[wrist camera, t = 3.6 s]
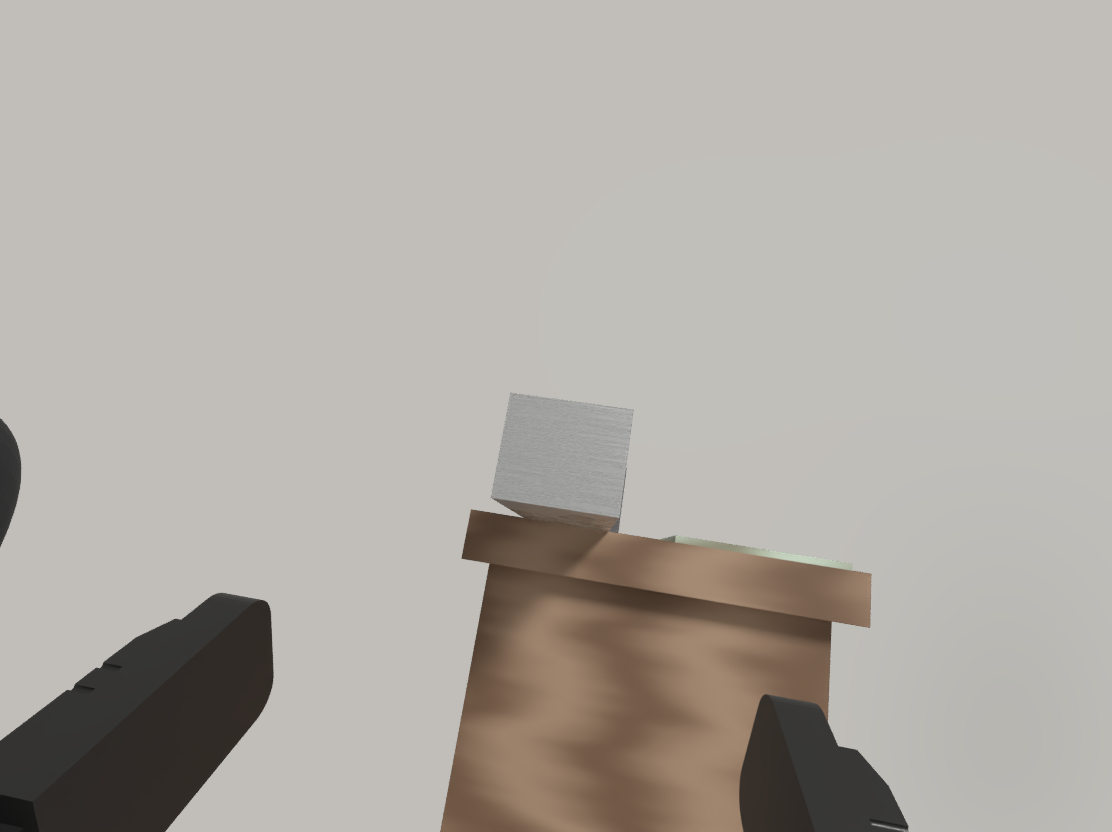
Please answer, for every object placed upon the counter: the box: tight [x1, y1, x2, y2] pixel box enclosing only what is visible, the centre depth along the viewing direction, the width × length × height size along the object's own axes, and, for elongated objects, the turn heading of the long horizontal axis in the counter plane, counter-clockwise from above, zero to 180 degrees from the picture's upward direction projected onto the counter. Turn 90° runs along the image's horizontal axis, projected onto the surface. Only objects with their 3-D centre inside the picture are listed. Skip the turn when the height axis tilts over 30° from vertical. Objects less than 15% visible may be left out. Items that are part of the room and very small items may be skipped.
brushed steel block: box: [491, 393, 634, 533], centre depth 25 cm, size 5×20×4 cm, turn 177°
